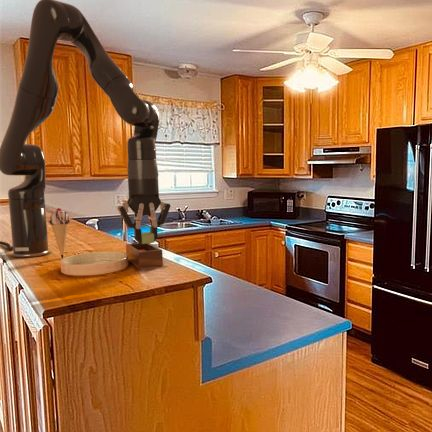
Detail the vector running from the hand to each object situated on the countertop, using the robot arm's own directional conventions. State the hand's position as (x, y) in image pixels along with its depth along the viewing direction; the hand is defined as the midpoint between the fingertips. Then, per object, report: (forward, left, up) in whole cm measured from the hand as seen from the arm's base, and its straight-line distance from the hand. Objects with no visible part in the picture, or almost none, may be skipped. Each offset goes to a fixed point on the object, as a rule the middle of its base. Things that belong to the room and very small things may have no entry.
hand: (146, 241), depth 113 cm
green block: (0, 0, 0) cm, 0 cm away
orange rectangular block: (-6, 0, -6) cm, 9 cm away
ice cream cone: (-22, -18, -7) cm, 29 cm away
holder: (-3, 0, -7) cm, 7 cm away
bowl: (-5, -12, -7) cm, 15 cm away
